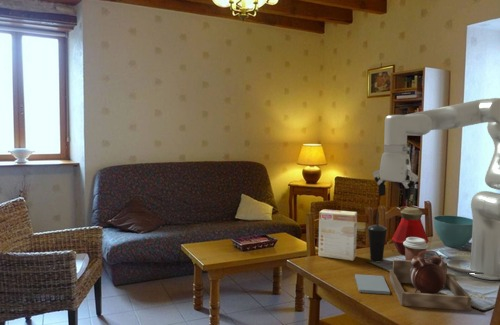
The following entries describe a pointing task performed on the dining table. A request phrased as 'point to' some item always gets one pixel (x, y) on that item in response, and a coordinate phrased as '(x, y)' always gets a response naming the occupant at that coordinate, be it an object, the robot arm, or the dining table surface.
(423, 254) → the coffee cup
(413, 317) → the dining table surface
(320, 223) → the coffeecake box
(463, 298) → the tray
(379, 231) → the drinking cup
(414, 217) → the red jar
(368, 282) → the slate mat
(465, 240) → the teal bowl
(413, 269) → the alarm clock
